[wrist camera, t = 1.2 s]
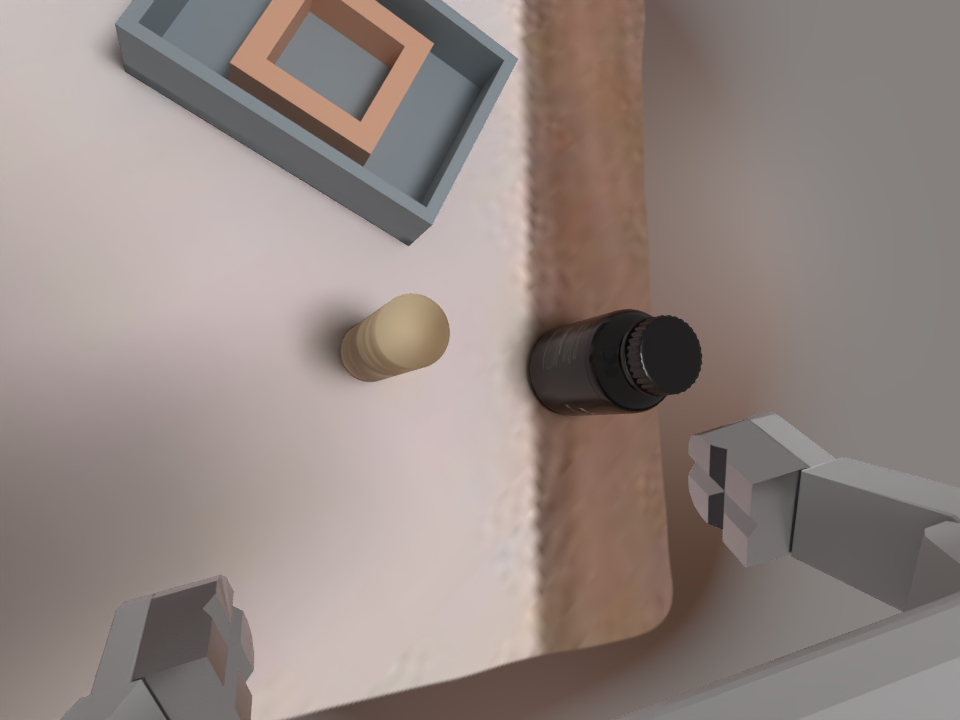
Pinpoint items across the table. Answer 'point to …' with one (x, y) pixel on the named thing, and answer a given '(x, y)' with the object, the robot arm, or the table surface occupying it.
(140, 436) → the table surface
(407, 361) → the beech peg
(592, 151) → the table surface
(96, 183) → the table surface
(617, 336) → the supplement bottle
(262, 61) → the open-top box
